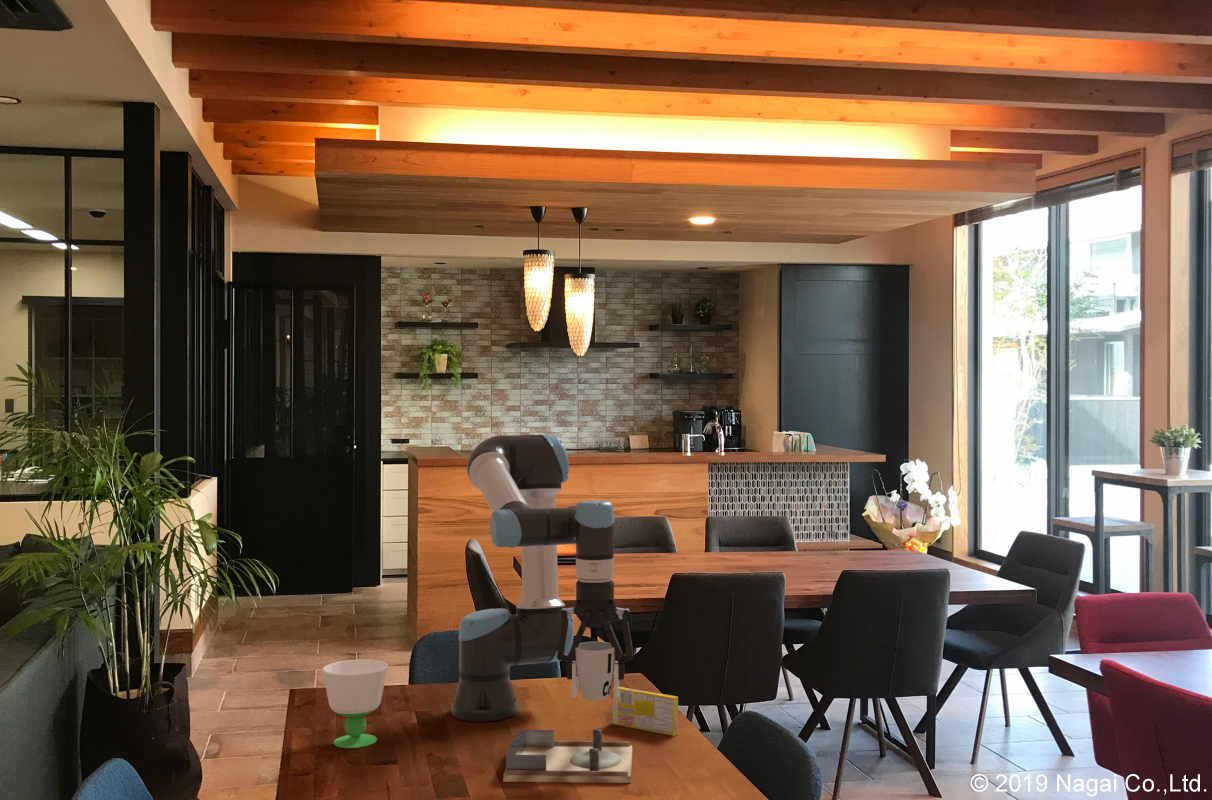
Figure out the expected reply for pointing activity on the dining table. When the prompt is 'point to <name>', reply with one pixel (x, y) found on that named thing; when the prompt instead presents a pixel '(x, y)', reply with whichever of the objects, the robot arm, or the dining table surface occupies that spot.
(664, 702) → the candy box
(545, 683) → the dining table surface
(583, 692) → the cup
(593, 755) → the jig
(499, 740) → the dining table surface
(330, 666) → the cup
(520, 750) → the grey u-shaped bracket
